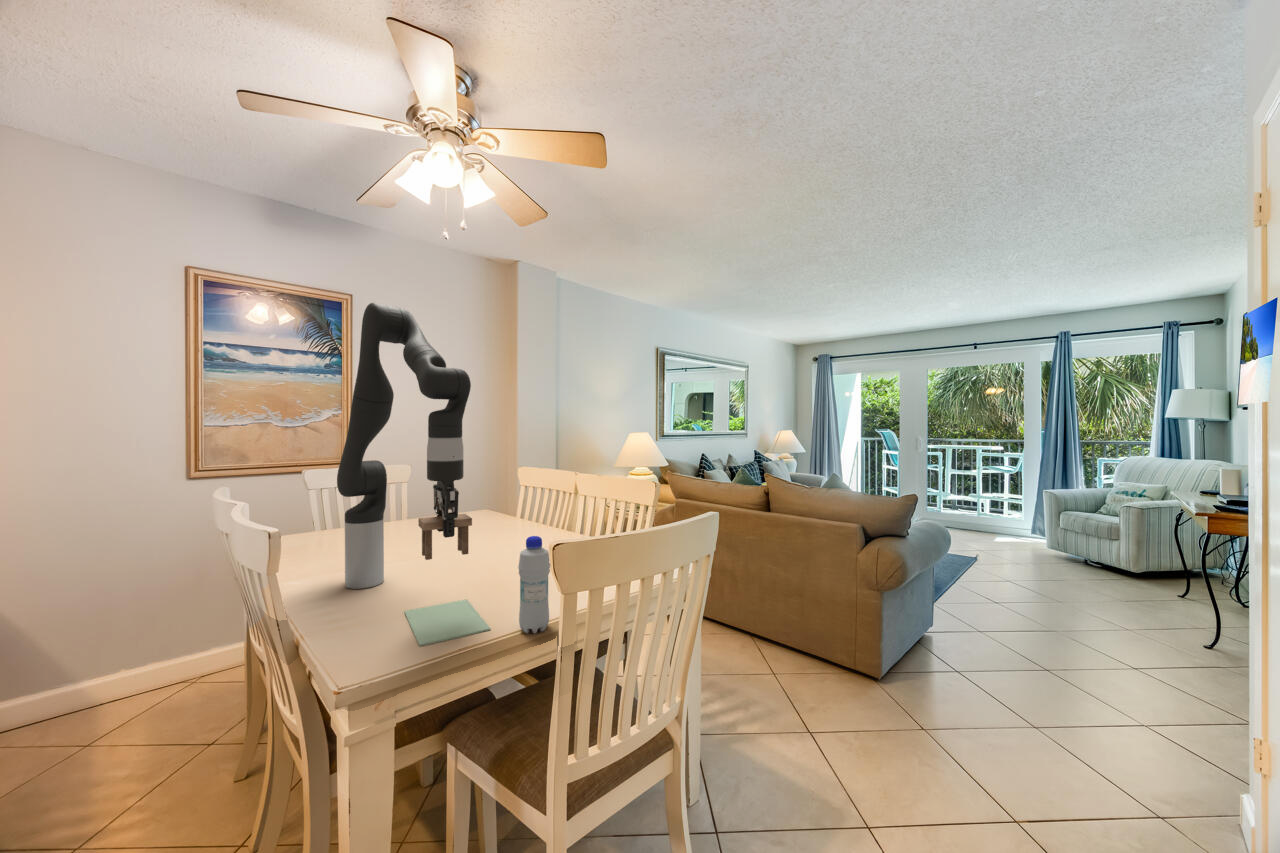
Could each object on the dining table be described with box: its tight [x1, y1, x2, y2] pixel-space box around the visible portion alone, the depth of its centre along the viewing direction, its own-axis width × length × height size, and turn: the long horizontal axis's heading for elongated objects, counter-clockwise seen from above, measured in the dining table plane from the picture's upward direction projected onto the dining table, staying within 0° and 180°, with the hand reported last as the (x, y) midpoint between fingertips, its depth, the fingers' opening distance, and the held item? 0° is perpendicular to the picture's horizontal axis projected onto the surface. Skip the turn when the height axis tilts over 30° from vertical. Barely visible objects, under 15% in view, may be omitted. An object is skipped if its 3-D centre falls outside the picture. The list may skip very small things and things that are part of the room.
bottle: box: [517, 535, 551, 634], centre depth 106 cm, size 7×7×20 cm
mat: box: [403, 599, 491, 647], centre depth 110 cm, size 20×14×1 cm
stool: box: [418, 513, 473, 561], centre depth 110 cm, size 10×6×8 cm, turn 123°
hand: (445, 533), depth 110 cm, fingers closed on stool, 6 cm apart
